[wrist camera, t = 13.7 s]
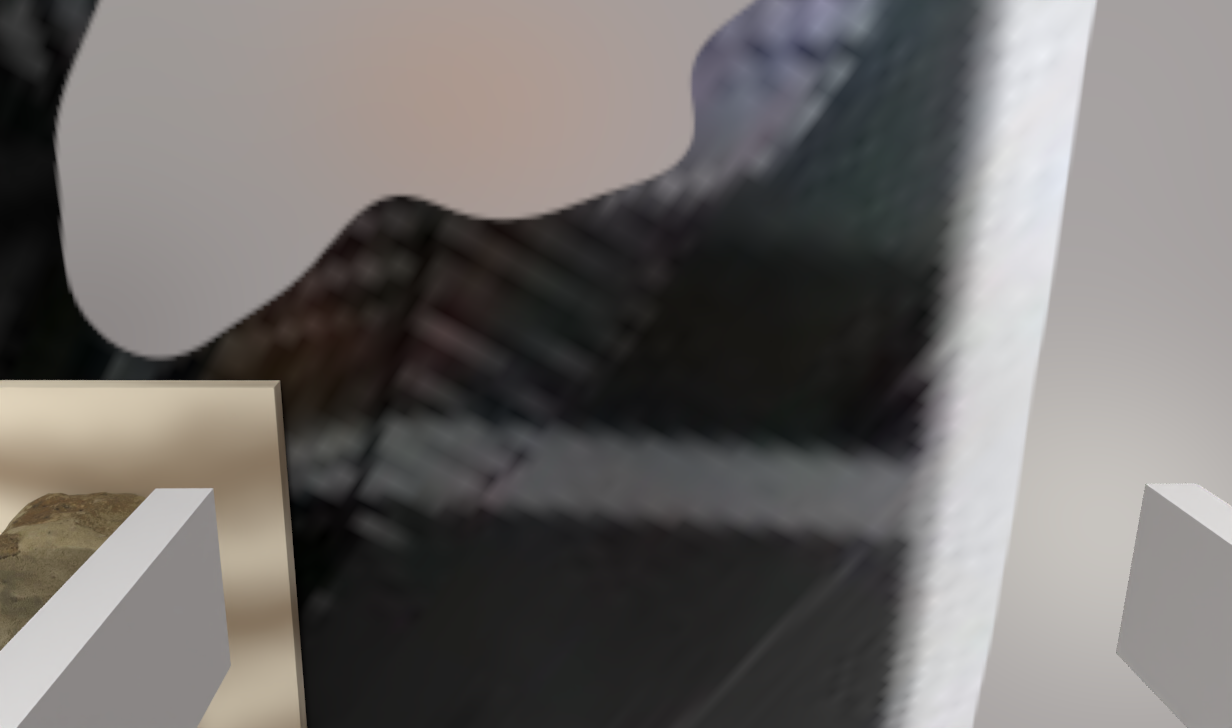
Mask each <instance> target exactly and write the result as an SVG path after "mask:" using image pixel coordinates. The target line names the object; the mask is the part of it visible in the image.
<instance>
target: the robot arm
mask: <svg viewBox="0 0 1232 728" xmlns="http://www.w3.org/2000/svg"><path fill="white" fill-rule="evenodd" d="M1116 653H1117V655H1118V656H1119V657H1120V658H1121V659H1122V660H1123V661H1124V662H1125V663H1126V664H1127V665H1128V666H1129V667H1130V668H1131V669H1132V670H1133V671H1134V672H1135V673H1136V674H1137V676H1139V678H1140V679H1141V680H1142V681H1143V682H1144V683H1145V684H1146V685H1147V686H1148V687H1149V688H1150V689H1151V690H1152V691H1153V692H1154V693H1155V694H1156V696H1157V697H1158V698H1159V699H1160V700H1161V701H1162V702H1163V703H1164V704H1165V705H1166V706H1167V707H1168V708H1169V709H1170V710H1171V711H1172V712H1173V713H1174V714H1175V715H1176V717H1177V718H1178V719H1179V720H1180V721H1181V722H1182V723H1183V724H1184V725H1185V726H1186V727H1187V728H1232V506H1230V505H1229V504H1228V503H1226V502H1224V501H1223V500H1221V499H1220V498H1218V497H1217V496H1215V495H1214V494H1212V493H1210V492H1209V491H1207V490H1206V489H1205V488H1203V487H1201V486H1200V485H1198V484H1145V490H1144V495H1143V501H1142V507H1141V513H1140V519H1139V525H1138V530H1137V536H1136V541H1135V547H1134V553H1133V558H1132V564H1131V570H1130V576H1129V581H1128V587H1127V593H1126V598H1125V605H1124V610H1123V616H1122V622H1121V627H1120V633H1119V639H1118V645H1117V650H1116ZM230 666H231V661H230V651H229V641H228V631H227V621H226V611H225V601H224V591H223V581H222V571H221V561H220V551H219V541H218V530H217V520H216V510H215V500H214V490H213V488H156V489H155V490H154V491H153V492H152V493H151V494H150V495H149V496H148V497H147V498H146V499H145V500H144V501H143V502H142V503H141V505H140V506H139V507H138V508H137V509H136V510H135V511H134V512H133V513H132V514H131V515H130V516H129V517H128V518H127V519H126V520H125V521H124V522H123V523H122V524H121V525H120V526H119V527H118V529H117V530H116V531H115V532H114V533H113V534H112V535H111V536H110V537H109V538H108V539H107V540H106V541H105V542H104V543H103V544H102V545H101V546H100V547H99V548H98V549H97V550H96V552H95V553H94V554H93V555H92V556H91V557H90V558H89V559H88V560H87V561H86V562H85V563H84V564H83V565H82V566H81V567H80V568H79V569H78V570H77V571H76V572H75V573H74V575H73V576H72V577H71V578H70V579H69V580H68V581H67V582H66V583H65V584H64V585H63V586H62V587H61V588H60V589H59V590H58V591H57V592H56V593H55V594H54V595H53V596H52V597H51V599H50V600H49V601H48V602H47V603H46V604H45V605H44V606H43V607H42V608H41V609H40V610H39V611H38V612H37V613H36V614H35V615H34V616H33V617H32V618H31V619H30V620H29V622H28V623H27V624H26V625H25V626H24V627H23V628H22V629H21V630H20V631H19V632H18V633H17V634H16V635H15V636H14V637H13V638H12V639H11V640H10V641H9V642H8V643H7V644H6V646H5V647H4V648H3V649H2V650H1V651H0V728H197V727H198V725H199V723H200V721H201V719H202V718H203V716H204V714H205V712H206V710H207V708H208V707H209V705H210V703H211V701H212V699H213V697H214V696H215V694H216V692H217V690H218V688H219V687H220V685H221V683H222V681H223V679H224V677H225V676H226V674H227V672H228V670H229V668H230Z"/></svg>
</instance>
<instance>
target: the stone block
mask: <svg viewBox="0 0 1232 728" xmlns="http://www.w3.org/2000/svg"><path fill="white" fill-rule="evenodd" d="M145 499H146V498H145V497H143V496H138V495H136V494H132V493H107V492H99V493H91V494H77V495H67V494H64V493H48V494H46V495H44V496H42V497H40V498H38V499H36V500H34V501H32V502H30V503H28V504H27V505H26V506H25V507H24V508H23V509H22V510H20V512H19V513H18V514H17V515H16V516H15V517H14V518H13V519H12V520H11V521H10V523H9V524H8V526H7V527H6V529H5V530H4V531H3V532H2V533H1V535H0V651H1V650H2V649H3V648H4V647H5V646H6V644H7V643H8V642H9V641H10V640H11V639H12V638H13V637H14V636H15V635H16V634H17V633H18V632H19V631H20V630H21V629H22V628H23V627H24V626H25V625H26V624H27V623H28V622H29V620H30V619H31V618H32V617H33V616H34V615H35V614H36V613H37V612H38V611H39V610H40V609H41V608H42V607H43V606H44V605H45V604H46V603H47V602H48V601H49V600H50V599H51V597H52V596H53V595H54V594H55V593H56V592H57V591H58V590H59V589H60V588H61V587H62V586H63V585H64V584H65V583H66V582H67V581H68V580H69V579H70V578H71V577H72V576H73V575H74V573H75V572H76V571H77V570H78V569H79V568H80V567H81V566H82V565H83V564H84V563H85V562H86V561H87V560H88V559H89V558H90V557H91V556H92V555H93V554H94V553H95V552H96V550H97V549H98V548H99V547H100V546H101V545H102V544H103V543H104V542H105V541H106V540H107V539H108V538H109V537H110V536H111V535H112V534H113V533H114V532H115V531H116V530H117V529H118V527H119V526H120V525H121V524H122V523H123V522H124V521H125V520H126V519H127V518H128V517H129V516H130V515H131V514H132V513H133V512H134V511H135V510H136V509H137V508H138V507H139V506H140V505H141V503H142V502H143V501H144V500H145Z"/></svg>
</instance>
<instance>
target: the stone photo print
mask: <svg viewBox="0 0 1232 728" xmlns="http://www.w3.org/2000/svg"><path fill="white" fill-rule="evenodd" d="M156 488H213V490H214V500H215V510H216V520H217V530H218V541H219V551H220V561H221V571H222V581H223V591H224V601H225V611H226V621H227V631H228V641H229V651H230V661H231V666H230V668H229V670H228V672H227V674H226V676H225V677H224V679H223V681H222V683H221V685H220V687H219V688H218V690H217V692H216V694H215V696H214V697H213V699H212V701H211V703H210V705H209V707H208V708H207V710H206V712H205V714H204V716H203V718H202V719H201V721H200V723H199V725H198V727H197V728H307V721H306V708H305V695H304V682H303V669H302V656H301V644H300V631H299V618H298V605H297V592H296V579H295V566H294V553H293V540H292V527H291V514H290V502H289V489H288V476H287V463H286V450H285V437H284V424H283V411H282V398H281V385H280V380H0V535H1V533H2V532H3V531H4V530H5V529H6V527H7V526H8V524H9V523H10V521H11V520H12V519H13V518H14V517H15V516H16V515H17V514H18V513H19V512H20V510H22V509H23V508H24V507H25V506H26V505H27V504H28V503H30V502H32V501H34V500H36V499H38V498H40V497H42V496H44V495H46V494H48V493H64V494H67V495H77V494H91V493H99V492H107V493H132V494H136V495H138V496H143V497H145V498H147V497H148V496H149V495H150V494H151V493H152V492H153V491H154V490H155V489H156Z"/></svg>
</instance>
